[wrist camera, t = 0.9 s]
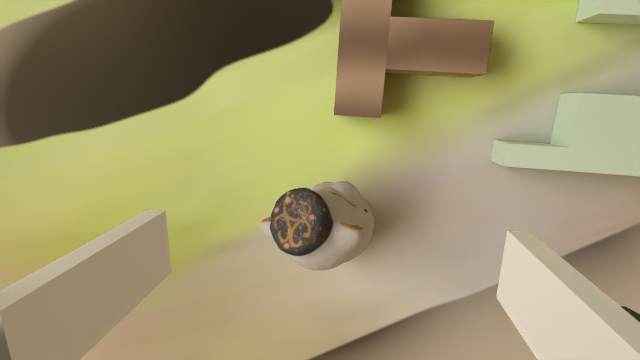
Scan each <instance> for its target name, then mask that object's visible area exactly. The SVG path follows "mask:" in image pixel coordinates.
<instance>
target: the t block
mask: <svg viewBox="0 0 640 360" xmlns="http://www.w3.org/2000/svg"><path fill="white" fill-rule="evenodd" d="M391 8H392V0H342V4H341V18H340V33H339V48H338V63H337V78H336V93H335V108H334V115H344V116H360V117H375V118H381V110H382V100H383V90H384V80H385V73H395V74H414V75H433V76H452V77H474V76H479V75H484V74H486V70H487V64H488V57H489V51H490V45H491V39H492V33H493V26H494V20H468V19H441V18H415V17H391Z"/></svg>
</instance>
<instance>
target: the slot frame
mask: <svg viewBox="0 0 640 360" xmlns="http://www.w3.org/2000/svg"><path fill="white" fill-rule="evenodd" d="M575 22H583V23H610V24H636V25H640V0H580V2H579V6H578V11H577V16H576V21H575ZM490 161H493V162H495V163H497V164H499V165H502V166H508V167H521V168H535V169H548V170H561V171H575V172H588V173H602V174H615V175H629V176H640V96H629V95H610V94H592V93H566V94H560V97H559V101H558V106H557V111H556V116H555V120H554V125H553V130H552V135H551V140H550V143H536V142H521V141H506V140H494V142H493V148H492V154H491V160H490Z"/></svg>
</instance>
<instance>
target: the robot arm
mask: <svg viewBox="0 0 640 360" xmlns="http://www.w3.org/2000/svg"><path fill="white" fill-rule="evenodd" d="M171 272H172V271H171V261H170V251H169V241H168V231H167V221H166V211H163V210H146V211H144V212H142V213H141V214H139V215H137V216H135V217H133V218H132V219H130V220H128V221H126V222H124V223H122V224H121V225H119V226H117V227H115V228H113V229H112V230H110V231H108V232H106V233H104V234H102V235H101V236H99V237H97V238H95V239H93V240H92V241H90V242H88V243H86V244H84V245H82V246H81V247H79V248H77V249H75V250H73V251H72V252H70V253H68V254H66V255H64V256H62V257H61V258H59V259H57V260H55V261H53V262H52V263H50V264H48V265H46V266H44V267H42V268H41V269H39V270H37V271H35V272H33V273H32V274H30V275H28V276H26V277H24V278H22V279H21V280H19V281H17V282H15V283H13V284H12V285H10V286H8V287H6V288H4V289H2V290H1V291H0V360H80V359H81V358H82V357H83V356H84V355H85V354H86V353H87V352H88V351H89V350H90V349H91V348H93V347H94V346H95V345H96V344H97V343H98V342H99V341H100V340H101V339H102V338H103V337H104V336H105V335H106V334H107V333H108V332H109V331H110V330H111V329H113V328H114V327H115V326H116V325H117V324H118V323H119V322H120V321H121V320H122V319H123V318H124V317H125V316H126V315H127V314H128V313H129V312H130V311H131V310H132V309H134V308H135V307H136V306H137V305H138V304H139V303H140V302H141V301H142V300H143V299H144V298H145V297H146V296H147V295H148V294H149V293H150V292H151V291H152V290H154V289H155V288H156V287H157V286H158V285H159V284H160V283H161V282H162V281H163V280H164V279H165V278H166V277H167V276H168V275H169V274H170V273H171ZM497 299H498V300H499V302H500V304H501V305H502V307H503V308H504V310H505V311H506V313H507V314H508V316H509V317H510V319H511V320H512V322H513V323H514V325H515V326H516V328H517V329H518V331H519V332H520V334H521V335H522V337H523V338H524V340H525V341H526V343H527V344H528V346H529V347H530V349H531V351H532V352H533V353H534V355H535V356H536V358H537V360H640V314H638V313H636V312H634V311H633V310H631V309H629V308H627V307H624V306H619V305H618V304H617V303H616V302H614V301H613V300H612V299H611V298H609V297H608V296H607V295H606V294H605V293H604V292H602V291H601V290H600V289H598V288H597V287H596V286H595V285H594V284H593V283H591V282H590V281H589V280H588V279H586V278H585V277H584V276H583V275H581V274H580V273H579V272H578V271H577V270H576V269H574V268H573V267H572V266H571V265H569V264H568V263H567V262H566V261H565V260H563V259H562V258H561V257H560V256H559V255H557V254H556V253H555V252H554V251H553V250H551V249H550V248H549V247H548V246H547V245H545V244H544V243H543V242H542V241H540V240H539V239H538V238H537V237H536V236H534V235H533V234H532V233H531V232H528V231H511V230H507V235H506V241H505V248H504V254H503V260H502V266H501V272H500V278H499V284H498V290H497Z"/></svg>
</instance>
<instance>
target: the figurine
mask: <svg viewBox="0 0 640 360" xmlns="http://www.w3.org/2000/svg"><path fill="white" fill-rule="evenodd" d="M260 228H261V230H262V232H263V233H264V235H265V236H266V237H268V238H269V239H270V240H272V241H273V242H274V243H276V244H277V245H278V247H279V248H280V249H281V250H282V251H283V252H285V253H286V254H287V256H288V257H289V258H290V259H291V260H292V261H294V262H295V263H297V264H298V265H300V266H302V267H304V268H307V269H311V270H327V269H332V268H335V267H337V266H339V265H340V264H342V263H344V262H347V261H349V260H351V259H353V258H354V257H356V256H358V255H359V254H360V253H361V252H362V251H363V250H364V249H365V248H366V247H367V246H368V244H369V243H370V241H371V239H372V236H373V232H374V218H373V214H372V211H371V209H370V207H369V205H368V204H367V202H366V201H365V200H364V198H363V197H362V195H361V194H360V192H359V191H358V190H357V189H356V188H355V187H354V186H353V185H352V184H350V183H348V182H336V183H332V182H323V183H320V184H318V185H316V186H314V187H312V188H311V189H308V188H298V189H293V190H290V191H288V192H286V193H285V194H283V195H282V196H281V197H280V198H279V199H278V200H277V202H276V204H275V207H274V209H273V211H272V214H271V217H269V218H266V219H264V220H262V221H261V222H260Z"/></svg>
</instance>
